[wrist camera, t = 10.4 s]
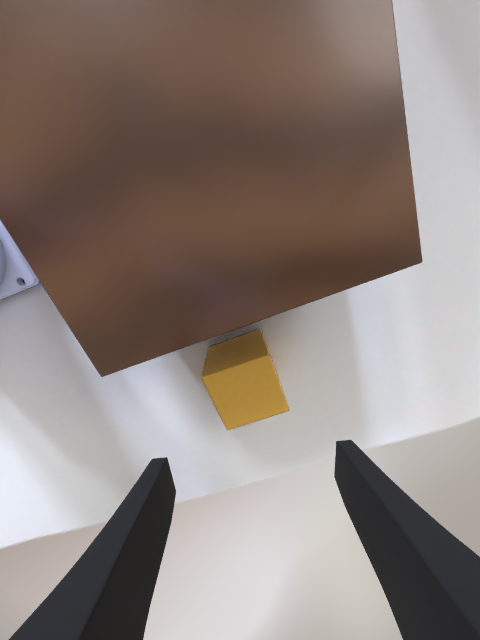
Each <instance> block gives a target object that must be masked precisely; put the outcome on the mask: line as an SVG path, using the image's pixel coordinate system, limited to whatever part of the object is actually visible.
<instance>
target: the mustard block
mask: <svg viewBox="0 0 480 640" xmlns="http://www.w3.org/2000/svg"><path fill="white" fill-rule="evenodd" d="M201 379H202V381H203V383H204V385H205V387H206V389H207V391H208V393H209V395H210V397H211V399H212V401H213V403H214V405H215V407H216V409H217V411H218V413H219V415H220V417H221V419H222V421H223V423H224V425H225V427H226V429H227V430H230V429H233V428H236V427H239V426H242V425H246V424H249V423H252V422H255V421H258V420H261V419H264V418H268V417H271V416H274V415H277V414H280V413H283V412H286V411H289V407H288V404H287V401H286V398H285V396H284V393H283V390H282V387H281V384H280V381H279V378H278V375H277V372H276V369H275V367H274V364H273V361H272V359H271V356H270V353H269V350H268V348H267V345H266V342H265V339H264V337H263V334H262V331H261V329H258V330H256V331H253V332H250V333H247V334H244V335H242V336H239V337H236V338H233V339H230V340H227V341H225V342H222V343H219V344H216V345H213V346H210V347H209V348H208V352H207V356H206V360H205V364H204V368H203V372H202V376H201Z"/></svg>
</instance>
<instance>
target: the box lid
mask: <svg viewBox="0 0 480 640" xmlns="http://www.w3.org/2000/svg"><path fill="white" fill-rule="evenodd" d="M0 220H1V222H2V224H3V225H4V227H5V228H6V230H7V231H8V233H9V234H10V236H11V238H12V239H13V241H14V242H15V244H16V245H17V247H18V248H19V250H20V252H21V253H22V255H23V256H24V258H25V259H26V261H27V262H28V264H29V266H30V267H31V269H32V270H33V272H34V273H35V275H36V276H37V278H38V279H39V281H40V283H41V284H42V286H43V287H44V289H45V290H46V292H47V293H48V295H49V297H50V298H51V300H52V301H53V303H54V304H55V306H56V307H57V309H58V311H59V312H60V314H61V315H62V317H63V318H64V320H65V321H66V323H67V325H68V326H69V328H70V329H71V331H72V332H73V334H74V335H75V337H76V339H77V340H78V342H79V343H80V345H81V346H82V348H83V349H84V351H85V353H86V354H87V356H88V357H89V359H90V360H91V362H92V363H93V365H94V366H95V368H96V370H97V371H98V373H99V374H100V376H101V377H103V376H106V375H109V374H111V373H114V372H117V371H120V370H123V369H125V368H128V367H131V366H134V365H137V364H139V363H142V362H145V361H148V360H151V359H153V358H156V357H159V356H162V355H165V354H167V353H170V352H173V351H176V350H179V349H181V348H184V347H187V346H190V345H193V344H195V343H198V342H201V341H204V340H207V339H209V338H212V337H215V336H218V335H221V334H223V333H226V332H229V331H232V330H234V329H237V328H240V327H243V326H246V325H248V324H251V323H254V322H257V321H260V320H262V319H265V318H268V317H271V316H274V315H276V314H279V313H282V312H285V311H288V310H290V309H293V308H296V307H299V306H302V305H304V304H307V303H310V302H313V301H316V300H318V299H321V298H324V297H327V296H330V295H332V294H335V293H338V292H341V291H344V290H346V289H349V288H352V287H355V286H358V285H360V284H363V283H366V282H369V281H372V280H374V279H377V278H380V277H383V276H386V275H388V274H391V273H394V272H397V271H400V270H402V269H405V268H408V267H411V266H413V265H416V264H419V263H421V262H422V255H421V246H420V237H419V229H418V220H417V212H416V203H415V194H414V186H413V177H412V169H411V160H410V151H409V143H408V134H407V126H406V117H405V108H404V100H403V91H402V83H401V74H400V65H399V57H398V48H397V40H396V31H395V22H394V14H393V5H392V0H0Z"/></svg>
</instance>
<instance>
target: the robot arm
mask: <svg viewBox="0 0 480 640" xmlns="http://www.w3.org/2000/svg"><path fill="white" fill-rule="evenodd" d="M22 279H23V280H24V281H25V284H24V283H23V282H22ZM38 283H39V279H38V278H37V276H36V275H35V273H34V272H33V270H32V269H31V267H30V266H29V264H28V262H27V261H26V259H25V258H24V256H23V255H22V253H21V252H20V250H19V248H18V247H17V245H16V244H15V242H14V241H13V239H12V238H11V236H10V234H9V233H8V231H7V230H6V228H5V227H4V225H3V224H2V222H1V220H0V300H1V299H3V298H6V297H8V296H11V295H13V294H16V293H18V292H21V291H23V290H25V289H28V288H30V287H33V286H35V285H37V284H38ZM335 479H336V482H337V485H338V488H339V491H340V494H341V496H342V499H343V502H344V505H345V507H346V509H347V512H348V514H349V516H350V518H351V520H352V522H353V525H354V527H355V529H356V531H357V534H358V536H359V538H360V540H361V542H362V544H363V546H364V549H365V551H366V553H367V555H368V557H369V559H370V561H371V564H372V566H373V568H374V570H375V572H376V575H377V577H378V579H379V581H380V583H381V585H382V588H383V590H384V593H385V595H386V597H387V599H388V602H389V604H390V607H391V609H392V612H393V615H394V617H395V620H396V622H397V625H398V627H399V630H400V632H401V635H402V638H403V640H480V557H479V556H478V555H477V554H475V553H474V552H473V551H472V550H471V549H469V548H468V547H467V546H466V545H464V544H463V543H462V542H461V541H459V540H458V539H457V538H456V537H454V536H453V535H452V534H451V533H450V532H448V531H447V530H446V529H445V528H444V527H443V526H442V525H440V524H439V523H438V522H437V521H436V520H435V519H433V518H432V517H431V516H430V515H429V514H428V513H427V512H426V511H424V510H423V509H422V508H421V507H420V506H419V505H418V504H417V503H415V502H414V501H413V500H412V499H411V498H410V497H409V496H408V495H407V494H406V493H404V491H403V490H401V489H400V488H399V487H398V486H397V485H396V484H395V483H394V482H393V481H392V480H391V479H390V478H389V477H388V476H386V474H385V473H384V472H382V470H381V469H380V468H379V467H378V466H376V465H375V463H373V462H372V461H371V459H369V457H368V456H367V455H365V453H364V452H363V451H362V450H361V449H360V448H359V447H358V446H357V445H356V444H355V443H354V442H353V441H352V440H345V441H336V458H335ZM175 495H176V490H175V486H174V482H173V478H172V474H171V470H170V467H169V463H168V459H167V457H166V458H156V459H152V460H151V462H150V463H149V464H148V466H147V467H146V469H145V470H144V472H143V473H142V475H141V476H140V478H139V479H138V481H137V482H136V484H135V485H134V486H133V488H132V489H131V491H130V492H129V494H128V495H127V496H126V498H125V499H124V501H123V502H122V503H121V505H120V506H119V508H118V509H117V510H116V512H115V513H114V514H113V516H112V517H111V519H110V520H109V521H108V523H107V524H106V525H105V527H104V528H103V529H102V531H101V532H100V533H99V535H98V536H97V537H96V538H95V540H94V541H93V542H92V543H91V545H90V546H89V547H88V549H87V550H86V551H85V552H84V554H83V555H82V556H81V558H80V559H79V560H78V561H77V562H76V564H75V565H74V566H73V567H72V568H71V570H70V571H69V572H68V573H67V575H66V576H65V577H64V578H63V579H62V580H61V582H60V583H59V584H58V585H57V586H56V588H55V589H54V590H53V591H52V592H51V593H50V594H49V596H48V597H47V598H46V599H45V600H44V601H43V602H42V603H41V604H40V606H39V607H38V608H37V609H36V610H35V611H34V612H33V613H32V615H31V616H30V617H29V618H28V619H27V620H26V621H25V622H24V623H23V625H22V626H21V627H20V628H19V629H18V630H17V631H16V632H15V633H14V634H13V636H12V637H11V638H10V639H9V640H143V637H144V632H145V626H146V622H147V617H148V613H149V608H150V604H151V599H152V596H153V592H154V588H155V584H156V580H157V576H158V573H159V569H160V565H161V561H162V557H163V553H164V549H165V545H166V541H167V537H168V533H169V528H170V525H171V520H172V513H173V508H174V502H175Z"/></svg>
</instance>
